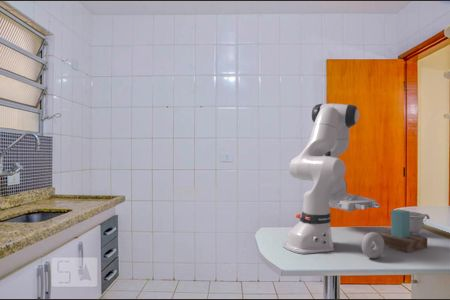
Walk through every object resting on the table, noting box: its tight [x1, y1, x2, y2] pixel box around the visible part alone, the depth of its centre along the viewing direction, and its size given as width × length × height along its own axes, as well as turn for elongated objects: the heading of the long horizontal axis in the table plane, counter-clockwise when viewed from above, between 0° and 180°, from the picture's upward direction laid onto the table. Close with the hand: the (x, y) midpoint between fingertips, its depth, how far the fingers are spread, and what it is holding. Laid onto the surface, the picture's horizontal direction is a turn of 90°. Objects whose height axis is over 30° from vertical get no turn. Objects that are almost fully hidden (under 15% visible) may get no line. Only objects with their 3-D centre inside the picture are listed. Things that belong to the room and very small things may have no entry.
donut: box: [361, 231, 386, 259], centre depth 113 cm, size 10×4×10 cm, turn 109°
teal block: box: [390, 208, 411, 238], centre depth 128 cm, size 5×5×11 cm
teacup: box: [410, 211, 431, 236], centre depth 145 cm, size 12×15×10 cm
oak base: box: [378, 230, 428, 253], centre depth 128 cm, size 14×14×4 cm
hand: (372, 206), depth 140 cm, fingers open, 8 cm apart
